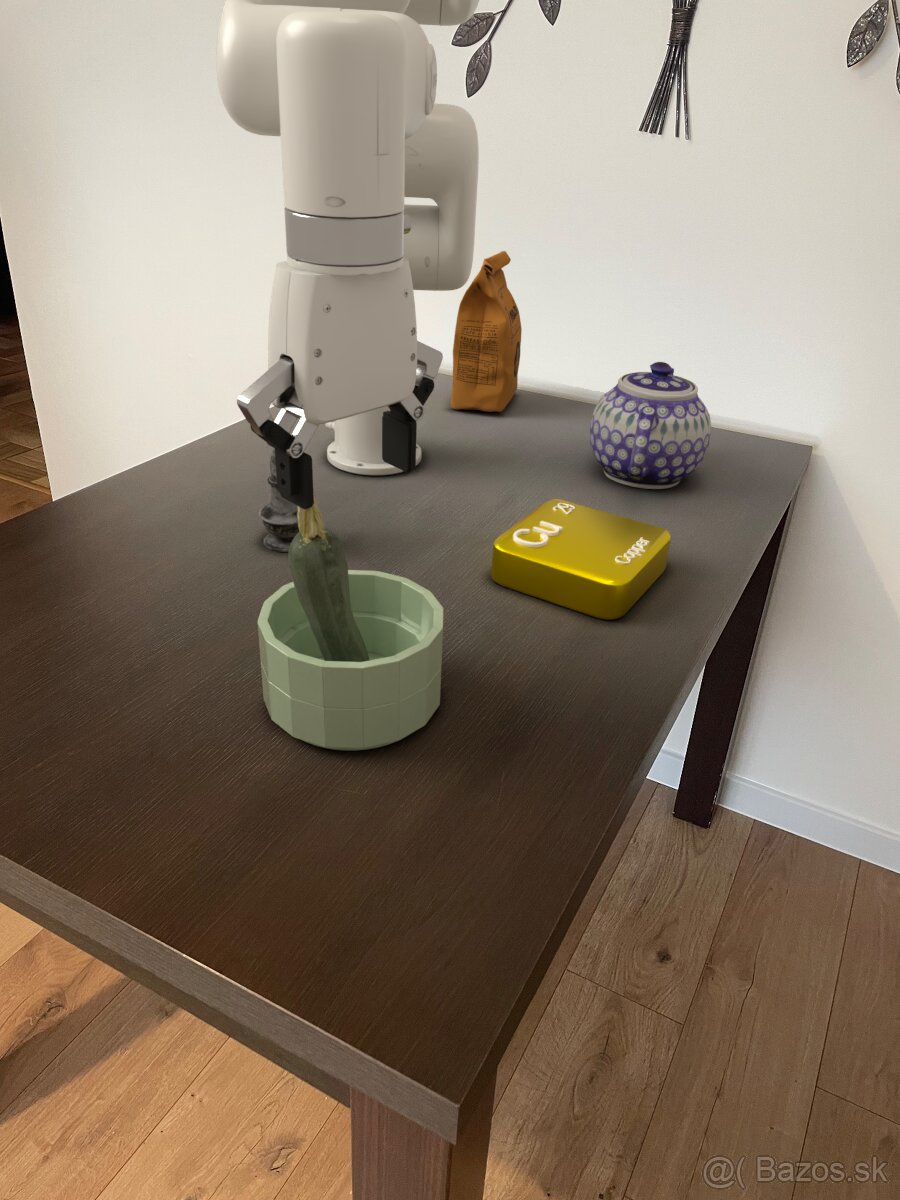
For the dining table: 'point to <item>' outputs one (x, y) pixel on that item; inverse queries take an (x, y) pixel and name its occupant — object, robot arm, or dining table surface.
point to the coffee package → (486, 341)
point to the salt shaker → (278, 515)
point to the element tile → (581, 558)
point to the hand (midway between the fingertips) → (349, 483)
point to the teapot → (650, 429)
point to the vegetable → (325, 588)
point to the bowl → (354, 665)
